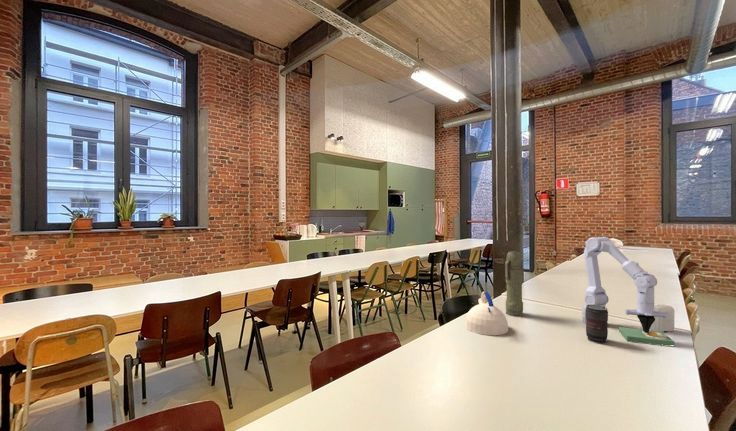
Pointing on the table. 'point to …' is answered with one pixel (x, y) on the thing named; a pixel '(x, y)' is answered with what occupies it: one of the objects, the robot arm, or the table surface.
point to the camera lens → (596, 323)
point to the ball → (652, 334)
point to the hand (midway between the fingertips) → (645, 332)
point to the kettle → (486, 318)
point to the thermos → (514, 283)
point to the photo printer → (663, 319)
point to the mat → (645, 336)
